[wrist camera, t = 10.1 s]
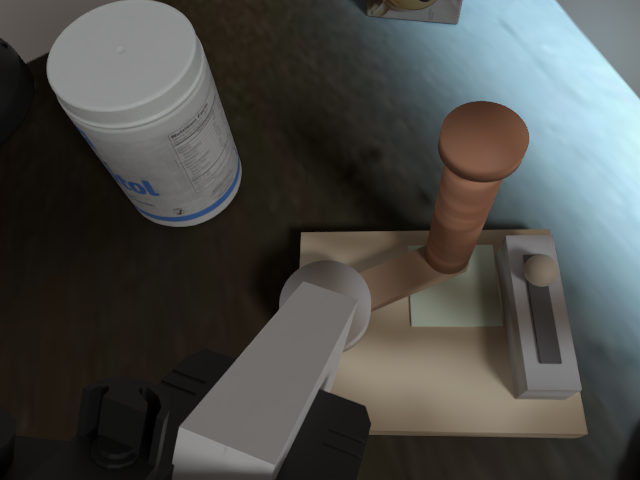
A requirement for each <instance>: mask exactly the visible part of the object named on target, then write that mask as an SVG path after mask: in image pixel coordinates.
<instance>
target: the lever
mask: <svg viewBox="0 0 640 480" xmlns="http://www.w3.org/2000/svg"><path fill="white" fill-rule="evenodd" d="M528 144H529V132H528V129H527V127H526V125H525V123H524V121H523V120H522V119H521V118H520V116H519V115H518V114H516V113H515V112H514V111H512V110H511V109H509V108H507V107H506V106H503V105H501V104H497V103H493V102H487V101H477V102H470V103H466V104H463V105H461V106H459V107H457V108H455V109H454V110H453V111H451V112H450V113H449V114H448V115H447V117H446V118H445V120H444V122H443V124H442V127H441V132H440V137H439V143H438V150H439V154H440V157H441V159H442V161H443V163H444V168H443V172H442V177H441V181H440V186H439V190H438V195H437V199H436V204H435V208H434V213H433V217H432V222H431V226H430V231H429V235H428V240H427V244H426V245H425V246H423V247H420V248H418V249H416V250H413V251H411V252H408V253H406V254H404V255H401V256H399V257H396V258H394V259H392V260H389V261H387V262H384V263H382V264H379V265H377V266H375V267H372V268H370V269H367V270H365V271H363V272H360V273H358V272H357V271H356V270H354V269H353V268H351V267H350V266H348V265H346V264H343V263H341V262H337V261H331V260H322V261H316V262H312V263H309V264H307V265H304V266H302V267H301V268H299V269H298V270H297V271H295V272H294V273H293V274H292V275H291V276H290V277H289V279H288V280H287V281H286V283H285V285H284V287H283V289H282V291H281V295H280V301H279V309H280V308H281V307H282V306H283V305H284V303H285V302H286V301H287V300H288V299H289V298H290V296H291V295H292V294H293V293H294V292H295V290H296V289H297V288H298V287H299V286H300V285H301V283H302V282H303V281H304V282H307V283H310V284H313V285H316V286H319V287H322V288H325V289H328V290H331V291H334V292H337V293H340V294H342V295H345V296H348V297H351V298H354V299H357V300H358V302H357V306H356V309H355V312H354V316H353V319H352V322H351V326H350V329H349V333H348V336H347V339H346V343H345V346H344V349H343V352H345V351H347V350H349V349H351V348H352V347H354V346H355V345H356V344H357V343H358V342H359V341H360V340H361V339H362V338H363V336H364V335H365V333H366V331H367V329H368V327H369V323H370V319H371V312H372V311H374V310H377V309H379V308H381V307H384V306H386V305H388V304H391V303H393V302H395V301H398V300H400V299H403V298H405V297H407V296H410V295H412V294H414V293H417V292H419V291H421V290H424V289H426V288H428V287H431V286H433V285H435V284H438V283H440V282H442V281H445V280H447V279H449V278H452V277H454V276H457V275H459V274H461V273H464V272H466V270H467V268H468V265H469V260H470V258H471V255H472V253H473V250H474V248H475V246H476V243H477V241H478V238H479V236H480V233H481V231H482V228H483V226H484V223H485V221H486V218H487V216H488V213H489V211H490V209H491V206H492V204H493V201H494V199H495V196H496V194H497V191H498V189H499V186H500V184H501V181H502V179H504V178H506V177H508V176H509V175H511V174H512V173H513V172H515V171H516V169H517V168H518V167H519V165H520V164H521V162H522V159H523V157H524V155H525V152H526V150H527V148H528Z"/></svg>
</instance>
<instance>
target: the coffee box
mask: <svg viewBox="0 0 640 480" xmlns="http://www.w3.org/2000/svg"><path fill="white" fill-rule="evenodd" d="M461 5H462V0H366V15H367V16H371V17H383V18H394V19H405V20H416V21H427V22H438V23H449V24H457V23H458V20H459V15H460V10H461Z"/></svg>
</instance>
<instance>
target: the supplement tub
mask: <svg viewBox="0 0 640 480" xmlns="http://www.w3.org/2000/svg"><path fill="white" fill-rule="evenodd" d="M47 77H48V80H49V83H50V85H51V87H52V89H53V91H54V92H55V94H56V96H57V98H58V101H59V103H60V104H61V106H62V107H63V109H64V110H65V112H66V113H67V115H68V116H69V118H70V119H71V120H72V122H73V123H74V125H75V126H76V127H77V129H78V130H79V131H80V133H81V134H82V136H83V137H84V138H85V140H86V141H87V142H88V144H89V145H90V146H91V148H92V149H93V151H94V152H95V153H96V155H97V156H98V157H99V159H100V160H101V162H102V163H103V164H104V166H105V167H106V168H107V170H108V171H109V172H110V174H111V175H112V176H113V178H114V179H115V181H116V182H117V183H118V185H119V186H120V187H121V189H122V190H123V191H124V193H125V194H126V195H127V197H128V198H129V199H130V201H131V202H132V203H133V205H134V206H135V207H136V209H137V210H138V211H139V212H140V213H141V214H142V215H143V216H145V217H146V218H148V219H149V220H151V221H153V222H155V223H158V224H162V225H166V226H174V227H184V226H192V225H196V224H199V223H202V222H205V221H207V220H209V219H211V218H213V217H214V216H216V215H217V214H219V213H220V212H221V211H222V210H224V209H225V208H226V207H227V206H228V204H229V203H230V202H231V201H232V199H233V198H234V196H235V195H236V193H237V191H238V188H239V185H240V181H241V172H242V171H241V162H240V159H239V156H238V153H237V149H236V146H235V144H234V141H233V137H232V134H231V132H230V128H229V125H228V122H227V119H226V116H225V113H224V110H223V107H222V104H221V101H220V98H219V95H218V92H217V89H216V86H215V83H214V80H213V77H212V74H211V71H210V68H209V65H208V62H207V59H206V56H205V54H204V51H203V47H202V45H201V42H200V40H199V39H198V37H197V36H196V34H195V31H194V29H193V27H192V25H191V23H190V22H189V20H188V19H187V18H186V17H185V16H184V15H183V14H182V13H181V12H179V11H178V10H176V9H175V8H173V7H171V6H169V5H166V4H164V3H160V2H156V1H152V0H124V1H118V2H113V3H110V4H106V5H103V6H101V7H98V8H96V9H93V10H91V11H89V12H87V13H86V14H84V15H82V16H81V17H79V18H78V19H76V20H75V21H74V22H72V23H71V24H70V25H69V26H68V27H67V28H66V29H65V30H64V31H63V32H62V33H61V34H60V35H59V37H58V38H57V39H56V41H55V42H54V44H53V46H52V48H51V50H50V53H49V56H48V60H47Z"/></svg>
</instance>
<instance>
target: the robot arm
mask: <svg viewBox="0 0 640 480" xmlns="http://www.w3.org/2000/svg"><path fill="white" fill-rule="evenodd" d="M33 94H34V81H33V77H32V74H31V72H30V70H29V68H28V66H27V65H26V64H25V63H24V61H23V60H22V59H21V57H20V56H19V55H18V53H17V52H16V51H15V50H14V49H13V48H12V47H11V46H10V45H9V44H8V43H7V42H5V41H4V40H3V39H1V38H0V144H2V143H3V142H4V141H5V140H6V139H7V138H8V137H9V136H10V135H11V134H12V133H13V132H14V131H15V130H16V129H17V128H18V126H19V125H20V124H21V122H22V121H23V119H24V118H25V116H26V114H27V112H28V110H29V108H30V105H31V103H32V99H33ZM357 302H358V300H357V299H354V298H351V297H348V296H345V295H342V294H340V293H337V292H334V291H331V290H328V289H325V288H322V287H319V286H316V285H313V284H310V283H307V282H304V281H303V282H302V283H301V285H300V286H299V287H298V288H297V289H296V290H295V292H294V293H293V294H292V295H291V296H290V298H289V299H288V300H287V301H286V302H285V303H284V305H283V306H282V307H281V308H280V309H279V310H278V312H277V313H276V314H275V315H274V316H273V317H272V319H271V320H270V321H269V322H268V323H267V324H266V326H265V327H264V328H263V329H262V330H261V332H260V333H259V334H258V335H257V336H256V337H255V339H254V340H253V341H252V342H251V343H250V344H249V346H248V347H247V348H246V349H245V350H244V351H243V353H242V354H241V355H240V356H239V357H238V358H237V360H236V359H233V358H230V357H227V356H225V355H222V354H219V353H217V352H214V351H211V350H209V349H205V350H203V351H200V352H197V353H195V354H192V355H189V356H187V357H185V358H184V359H183V360H182V361H181V362H180V363H179V364H178V365H177V366H176V367H175V368H174V369H173V371H172V372H170V373H169V374H168V375H166V376H165V377H164V378H163V379H162V380H161V383H158V384H157V385H154V384H152V383H150V382H149V381H145V380H141V379H137V378H133V377H111V378H106V379H102V380H97V381H95V382H93V383H91V384H89V385H88V386H86V387H84V388H83V391H82V398H81V406H80V414H79V422H78V430H77V434H76V435H75V436H74V437H73V438H72V439H71V440H70V441H57V440H47V439H39V438H31V437H24V436H16V435H15V433H16V420H15V418H14V417H13V416H12V415H11V413H10V412H9V411H8V410H6V409H4V408H2V407H0V480H356V478H357V475H358V471H359V467H360V464H361V460H362V456H363V453H364V449H365V446H366V442H367V438H368V435H369V431H370V427H371V422H370V419H369V415H368V412H367V409H366V406H364V405H362V404H359V403H356V402H354V401H351V400H348V399H346V398H343V397H340V396H337V395H335V394H332V393H330V392H331V389H332V386H333V383H334V379H335V376H336V373H337V369H338V366H339V363H340V359H341V356H342V353H343V349H344V346H345V343H346V339H347V336H348V333H349V329H350V326H351V322H352V319H353V316H354V312H355V309H356V306H357Z"/></svg>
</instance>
